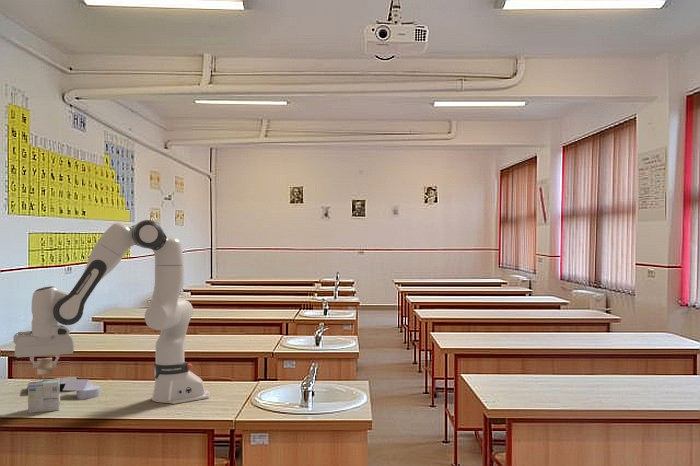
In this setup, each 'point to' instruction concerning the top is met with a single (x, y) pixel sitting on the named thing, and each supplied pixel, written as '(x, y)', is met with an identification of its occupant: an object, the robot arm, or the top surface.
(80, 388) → the wedge on round base
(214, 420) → the top surface
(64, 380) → the multimeter
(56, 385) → the light bulb box
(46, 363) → the ash cube
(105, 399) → the top surface
